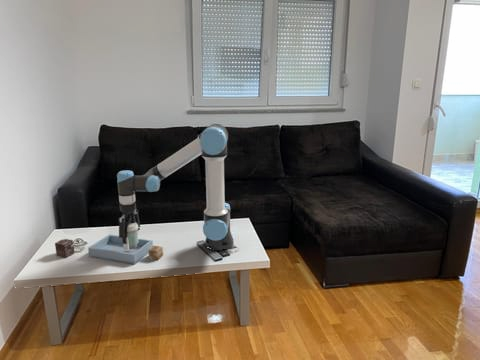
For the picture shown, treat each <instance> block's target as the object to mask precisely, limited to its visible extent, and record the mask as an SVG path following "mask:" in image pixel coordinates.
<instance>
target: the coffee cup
mask: <svg viewBox="0 0 480 360" xmlns="http://www.w3.org/2000/svg"><path fill="white" fill-rule="evenodd" d="M138 228H140V227H138V224H137V223H136V222H135V223H131V222H130V224H129V226H128V227H127V232H128V233H127V237H128V240H129V249H134V248H136V247H137V240H138V238H139V230H138Z"/></svg>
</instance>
